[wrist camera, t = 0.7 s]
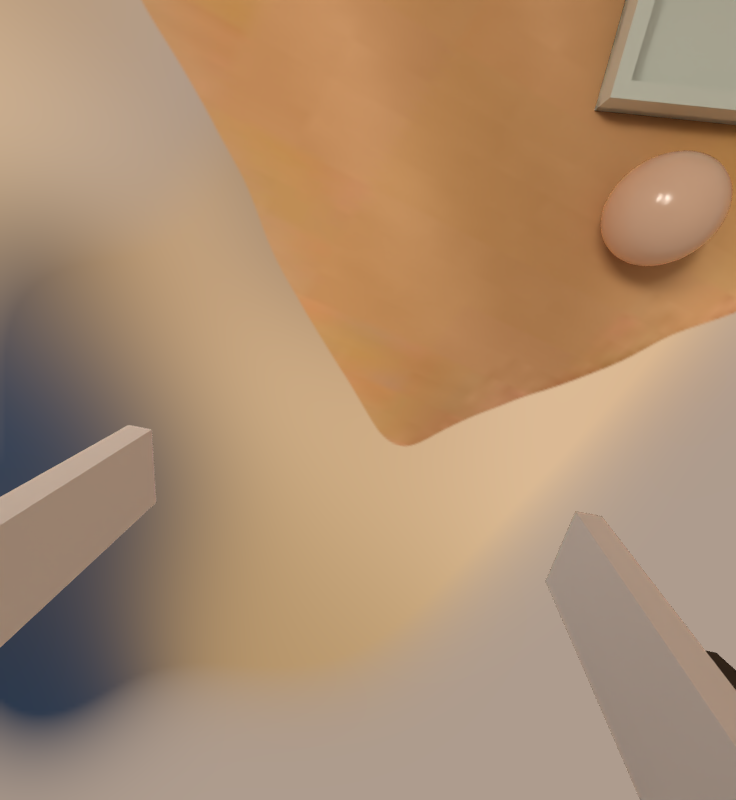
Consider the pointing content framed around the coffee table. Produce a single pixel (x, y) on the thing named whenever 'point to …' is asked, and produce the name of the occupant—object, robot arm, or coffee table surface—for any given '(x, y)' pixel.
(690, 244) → the pink ball
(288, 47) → the coffee table surface
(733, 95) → the divided tray
